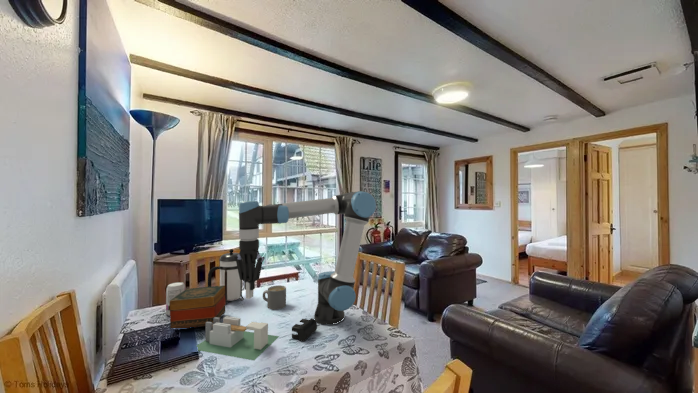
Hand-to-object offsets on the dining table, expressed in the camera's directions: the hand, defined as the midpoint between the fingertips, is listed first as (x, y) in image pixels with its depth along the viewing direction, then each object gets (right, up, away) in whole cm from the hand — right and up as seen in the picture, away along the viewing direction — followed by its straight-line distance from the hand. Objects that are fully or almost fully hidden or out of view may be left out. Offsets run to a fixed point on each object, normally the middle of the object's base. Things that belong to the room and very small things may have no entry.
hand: (249, 297), depth 111 cm
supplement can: (-50, -20, +32) cm, 62 cm away
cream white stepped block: (+3, -19, -1) cm, 19 cm away
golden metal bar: (-10, -14, +2) cm, 17 cm away
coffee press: (-30, -20, +49) cm, 61 cm away
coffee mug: (-2, -20, +42) cm, 47 cm away
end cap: (+21, -20, +7) cm, 30 cm away
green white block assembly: (-5, -20, +1) cm, 21 cm away
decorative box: (-31, -20, +20) cm, 42 cm away
